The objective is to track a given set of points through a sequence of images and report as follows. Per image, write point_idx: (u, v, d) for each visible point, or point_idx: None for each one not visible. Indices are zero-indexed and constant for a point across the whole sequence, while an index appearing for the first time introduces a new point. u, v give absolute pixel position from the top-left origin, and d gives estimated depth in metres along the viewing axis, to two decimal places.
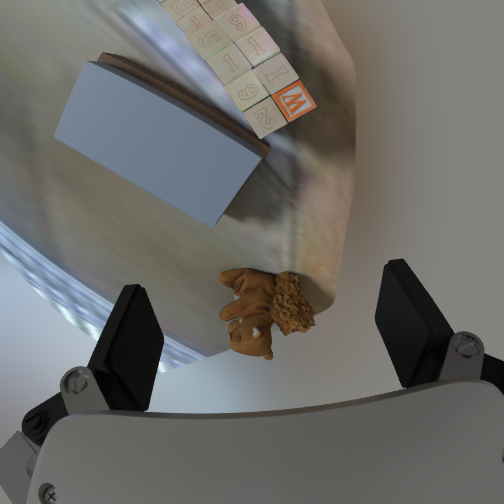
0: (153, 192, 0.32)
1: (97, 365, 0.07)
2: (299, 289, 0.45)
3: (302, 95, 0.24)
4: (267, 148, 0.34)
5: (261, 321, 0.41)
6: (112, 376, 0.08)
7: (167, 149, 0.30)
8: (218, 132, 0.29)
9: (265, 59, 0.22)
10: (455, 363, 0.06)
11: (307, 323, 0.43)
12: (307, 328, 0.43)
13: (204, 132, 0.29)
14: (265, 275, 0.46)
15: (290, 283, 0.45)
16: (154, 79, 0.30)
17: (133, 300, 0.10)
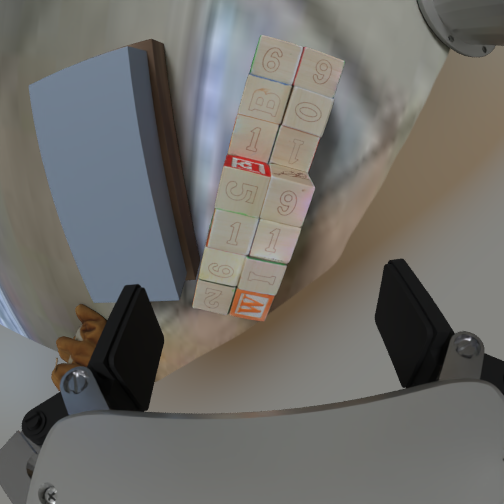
0: (68, 237, 0.25)
1: (97, 365, 0.07)
2: None
3: (262, 306, 0.24)
4: (193, 277, 0.32)
5: None
6: (112, 376, 0.08)
7: (109, 221, 0.24)
8: (164, 253, 0.26)
9: (267, 259, 0.22)
10: (455, 363, 0.06)
11: None
12: None
13: (153, 242, 0.25)
14: None
15: None
16: (162, 127, 0.24)
17: (133, 300, 0.10)
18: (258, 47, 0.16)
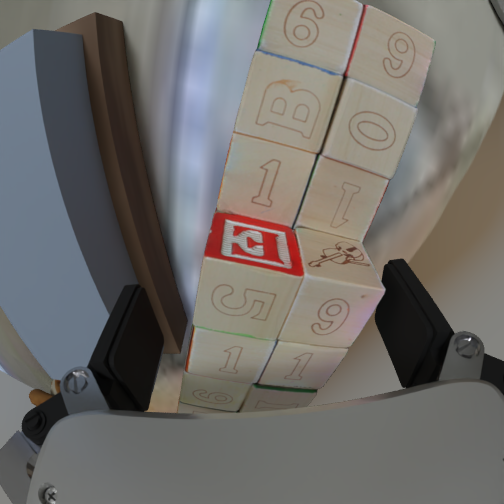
0: (4, 308, 0.15)
1: (97, 365, 0.07)
2: None
3: None
4: (177, 350, 0.23)
5: None
6: (112, 376, 0.08)
7: (43, 299, 0.15)
8: None
9: (286, 386, 0.12)
10: (455, 363, 0.06)
11: None
12: None
13: None
14: None
15: None
16: (113, 150, 0.15)
17: (133, 300, 0.10)
18: None
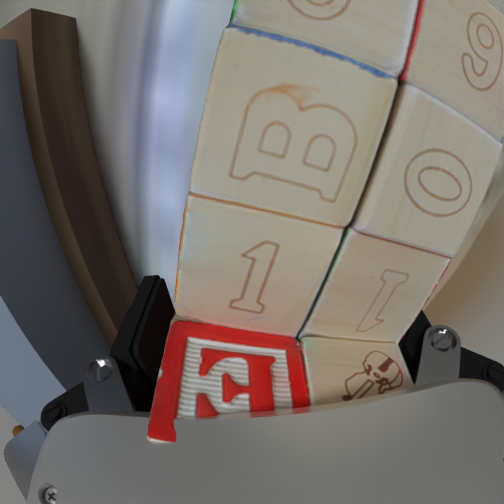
0: None
1: (121, 353, 0.08)
2: None
3: None
4: None
5: None
6: (136, 365, 0.08)
7: (0, 369, 0.10)
8: None
9: None
10: (432, 358, 0.06)
11: None
12: None
13: None
14: None
15: None
16: (56, 190, 0.10)
17: (154, 290, 0.10)
18: None
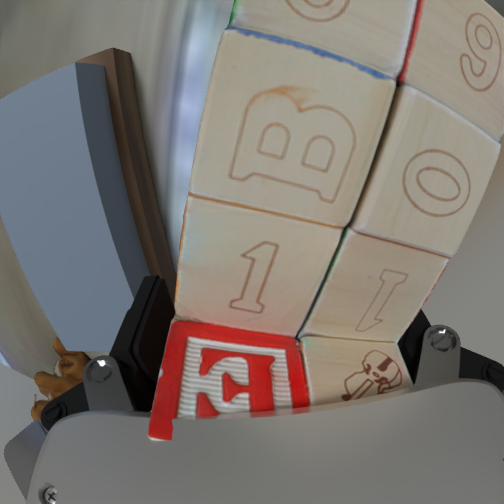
0: (31, 284, 0.20)
1: (121, 353, 0.08)
2: None
3: None
4: None
5: None
6: (136, 364, 0.08)
7: (70, 269, 0.20)
8: None
9: None
10: (432, 358, 0.06)
11: None
12: None
13: (120, 293, 0.21)
14: None
15: None
16: (127, 153, 0.20)
17: (154, 290, 0.10)
18: None
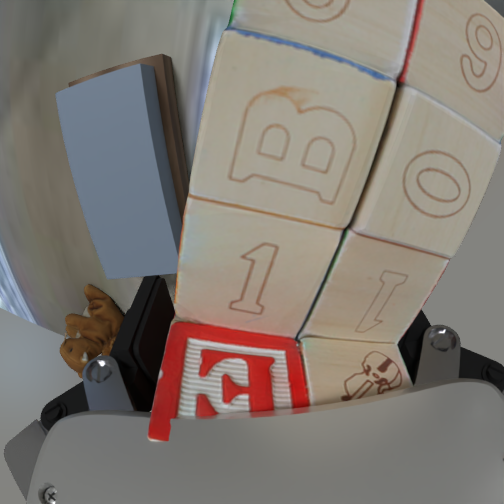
0: (87, 220, 0.30)
1: (121, 353, 0.08)
2: None
3: None
4: None
5: (92, 350, 0.39)
6: (136, 364, 0.08)
7: (124, 205, 0.29)
8: (170, 231, 0.31)
9: None
10: (432, 358, 0.06)
11: None
12: None
13: (161, 221, 0.30)
14: (118, 314, 0.46)
15: None
16: (170, 126, 0.30)
17: (154, 290, 0.10)
18: None
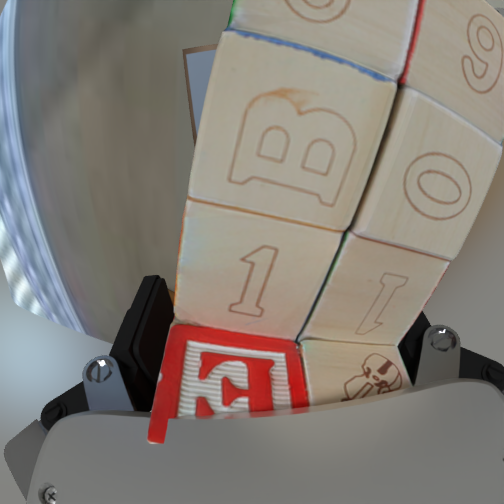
0: None
1: (121, 353, 0.08)
2: None
3: None
4: None
5: None
6: (136, 364, 0.08)
7: None
8: None
9: None
10: (432, 358, 0.06)
11: None
12: None
13: None
14: None
15: None
16: None
17: (154, 290, 0.10)
18: None
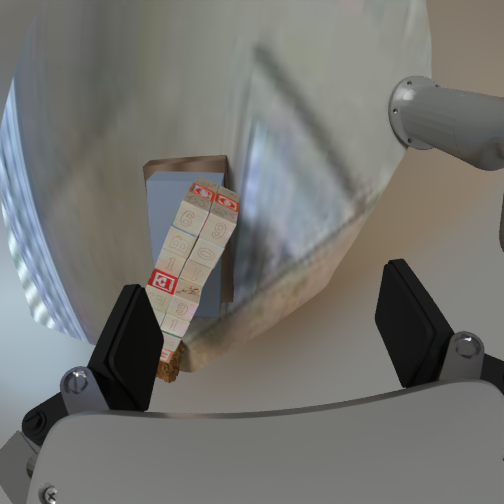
0: None
1: (97, 365, 0.07)
2: (180, 357, 0.61)
3: (167, 355, 0.37)
4: (231, 300, 0.53)
5: None
6: (112, 376, 0.08)
7: None
8: (218, 293, 0.47)
9: (169, 333, 0.34)
10: (455, 363, 0.06)
11: (171, 379, 0.58)
12: (169, 382, 0.58)
13: (213, 286, 0.46)
14: None
15: (178, 351, 0.60)
16: None
17: (133, 300, 0.10)
18: (179, 209, 0.29)
